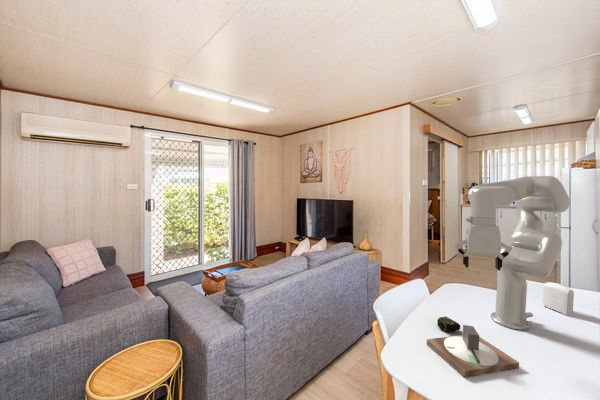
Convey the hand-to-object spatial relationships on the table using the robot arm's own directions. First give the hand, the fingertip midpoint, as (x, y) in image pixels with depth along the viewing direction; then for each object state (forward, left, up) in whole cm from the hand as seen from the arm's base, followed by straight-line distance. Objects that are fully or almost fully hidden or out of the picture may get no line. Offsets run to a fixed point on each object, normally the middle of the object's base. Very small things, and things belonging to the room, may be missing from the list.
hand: (481, 267), depth 94 cm
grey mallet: (+13, +10, -24) cm, 29 cm away
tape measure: (+6, -8, -27) cm, 29 cm away
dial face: (+12, +8, -25) cm, 28 cm away
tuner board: (+12, +8, -27) cm, 30 cm away
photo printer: (-55, -11, -27) cm, 62 cm away
